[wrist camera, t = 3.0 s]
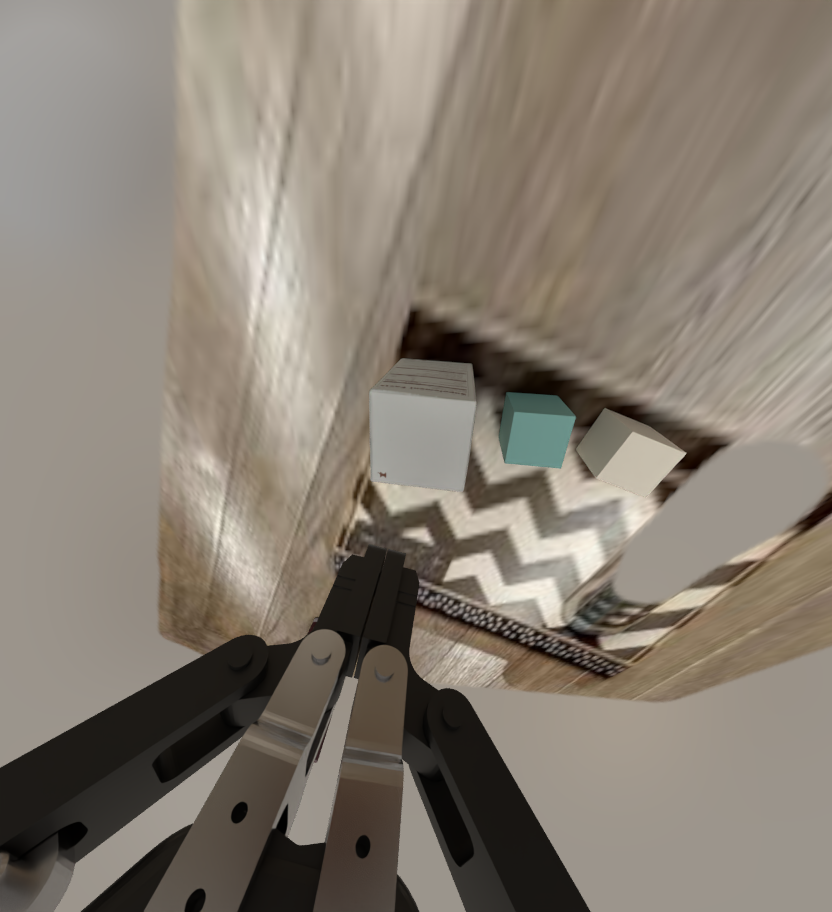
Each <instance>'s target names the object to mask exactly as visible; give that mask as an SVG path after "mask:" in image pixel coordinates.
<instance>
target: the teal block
mask: <svg viewBox="0 0 832 912" xmlns="http://www.w3.org/2000/svg"><path fill="white" fill-rule="evenodd" d="M575 418H576V416H575V415H574V414H573V413H572V412H571V410H570V409H569V408H568V407H567V406H566V405H565V404H564V403H563V401H562V400H561V399H560V398H559V397H558V396H555V395H541V394H526V393H512V392H506V397H505V403H504V409H503V414H502V420H501V426H500V432H499V441H500V445H501V449H502V454H503V458H504V462H505V463H507V464H518V465H529V466H540V467H551V468H561V467H562V463H563V460H564V456H565V453H566V449H567V446H568V442H569V439H570V435H571V432H572V429H573V425H574V422H575Z"/></svg>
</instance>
